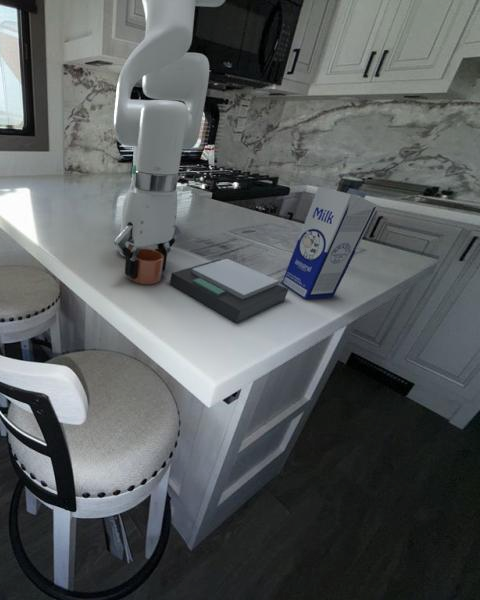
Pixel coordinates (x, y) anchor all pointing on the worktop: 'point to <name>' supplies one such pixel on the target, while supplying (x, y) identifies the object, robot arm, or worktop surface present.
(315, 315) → the worktop surface
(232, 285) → the kitchen scale
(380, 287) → the worktop surface
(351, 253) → the milk carton
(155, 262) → the flower pot
